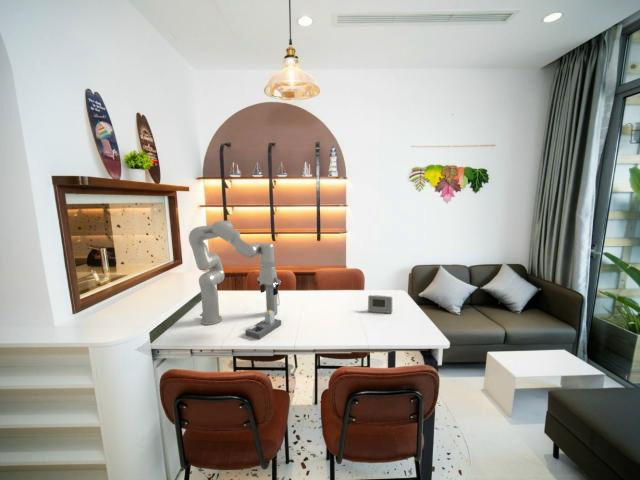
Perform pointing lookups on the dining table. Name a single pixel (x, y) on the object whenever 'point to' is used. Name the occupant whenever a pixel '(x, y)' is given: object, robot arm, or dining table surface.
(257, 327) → the panel
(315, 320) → the dining table surface
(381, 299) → the digital clock
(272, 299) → the water bottle
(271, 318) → the plug
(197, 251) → the robot arm
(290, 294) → the dining table surface
